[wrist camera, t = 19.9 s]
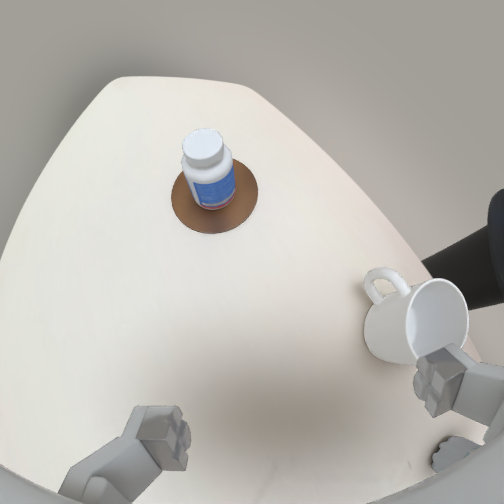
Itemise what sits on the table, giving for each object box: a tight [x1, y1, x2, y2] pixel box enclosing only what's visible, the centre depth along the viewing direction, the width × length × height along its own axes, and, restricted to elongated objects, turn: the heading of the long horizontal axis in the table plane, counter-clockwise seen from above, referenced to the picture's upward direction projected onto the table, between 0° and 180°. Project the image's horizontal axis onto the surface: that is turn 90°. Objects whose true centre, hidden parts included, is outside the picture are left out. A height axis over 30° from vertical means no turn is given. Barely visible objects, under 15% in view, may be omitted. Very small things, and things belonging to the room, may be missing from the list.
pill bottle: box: [181, 128, 236, 210], centre depth 29 cm, size 6×5×10 cm
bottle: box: [432, 436, 481, 473], centre depth 14 cm, size 7×7×20 cm
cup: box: [364, 267, 469, 366], centre depth 25 cm, size 8×12×10 cm
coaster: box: [171, 159, 258, 233], centre depth 34 cm, size 11×11×1 cm
